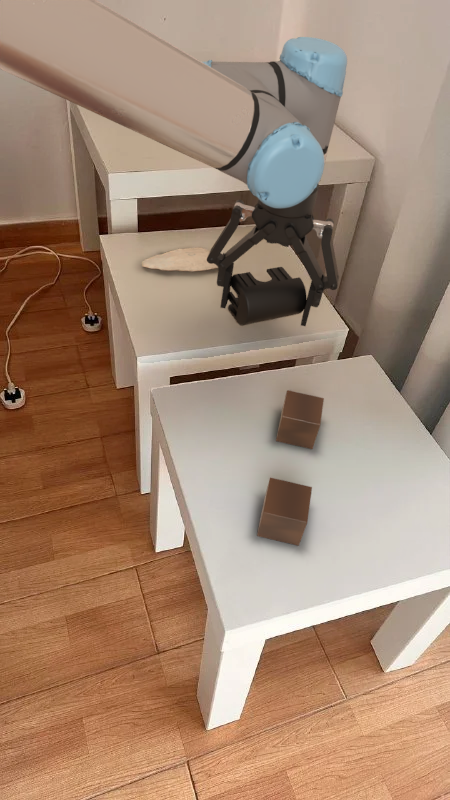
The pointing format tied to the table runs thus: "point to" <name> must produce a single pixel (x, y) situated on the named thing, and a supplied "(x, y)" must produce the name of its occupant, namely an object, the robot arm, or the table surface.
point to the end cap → (266, 297)
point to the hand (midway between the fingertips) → (264, 311)
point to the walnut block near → (285, 511)
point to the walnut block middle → (300, 419)
